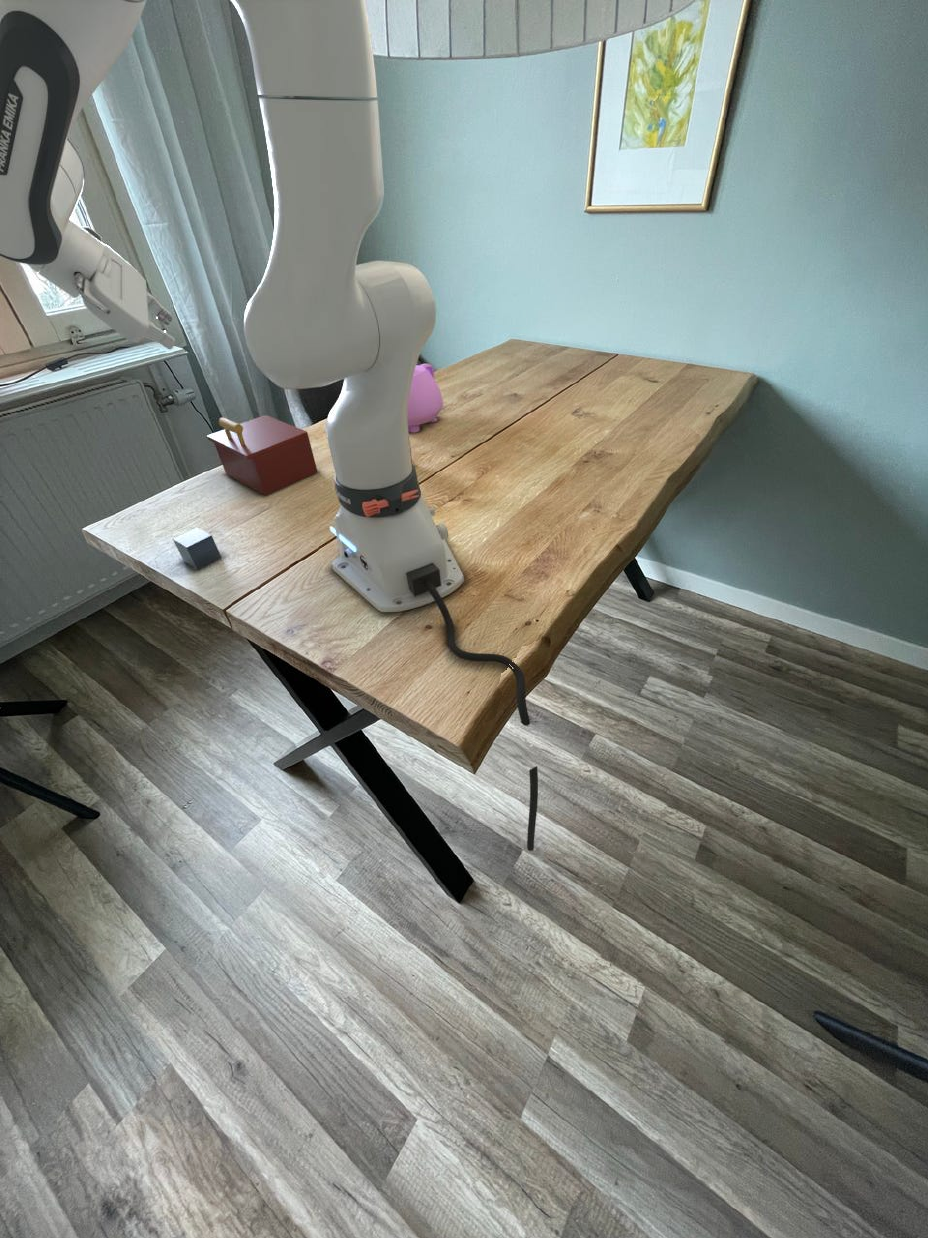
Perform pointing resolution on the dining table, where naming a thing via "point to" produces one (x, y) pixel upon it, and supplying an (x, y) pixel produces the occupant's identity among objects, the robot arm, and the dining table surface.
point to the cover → (255, 435)
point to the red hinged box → (271, 466)
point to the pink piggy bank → (423, 398)
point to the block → (197, 548)
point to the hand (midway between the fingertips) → (171, 332)
